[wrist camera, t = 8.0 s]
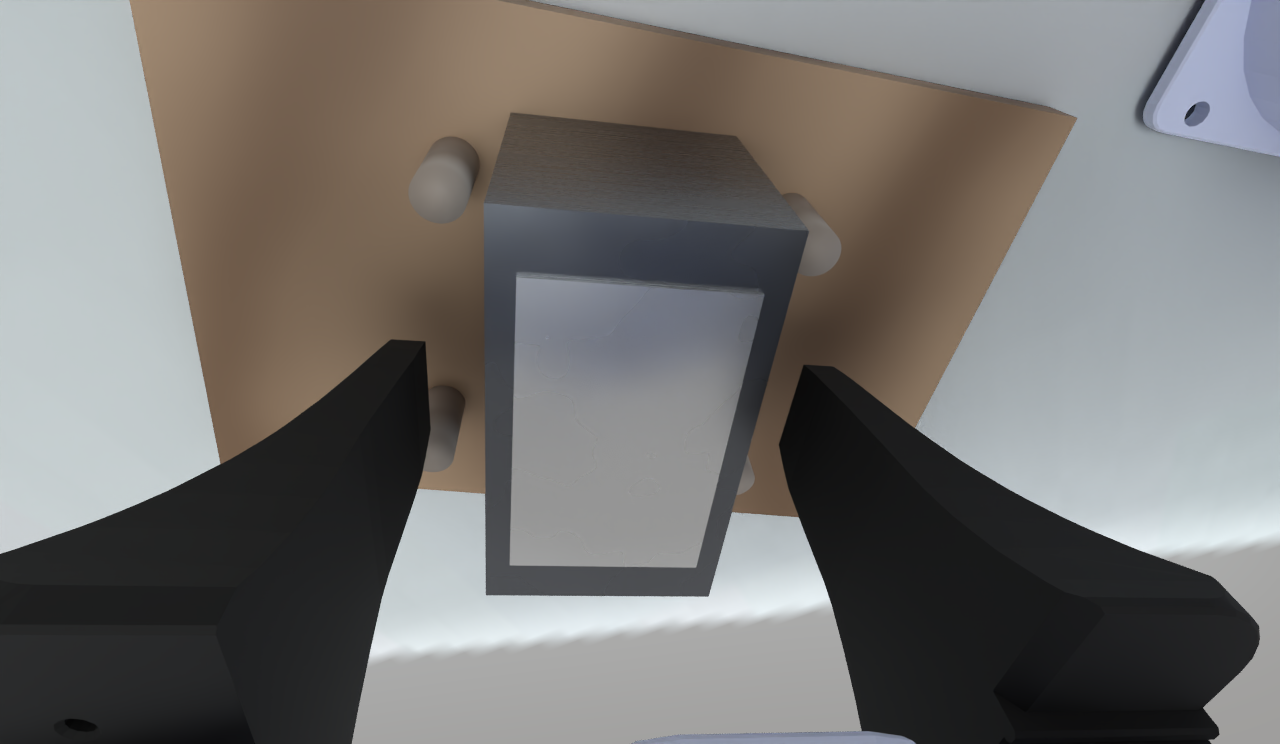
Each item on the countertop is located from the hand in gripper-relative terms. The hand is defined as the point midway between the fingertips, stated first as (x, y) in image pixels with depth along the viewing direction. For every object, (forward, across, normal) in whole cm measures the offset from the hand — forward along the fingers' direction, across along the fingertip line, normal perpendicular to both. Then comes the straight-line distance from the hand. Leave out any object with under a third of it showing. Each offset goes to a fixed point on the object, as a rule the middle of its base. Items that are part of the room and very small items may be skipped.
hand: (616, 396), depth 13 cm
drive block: (+3, 0, 0) cm, 3 cm away
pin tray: (+4, 0, 0) cm, 4 cm away
